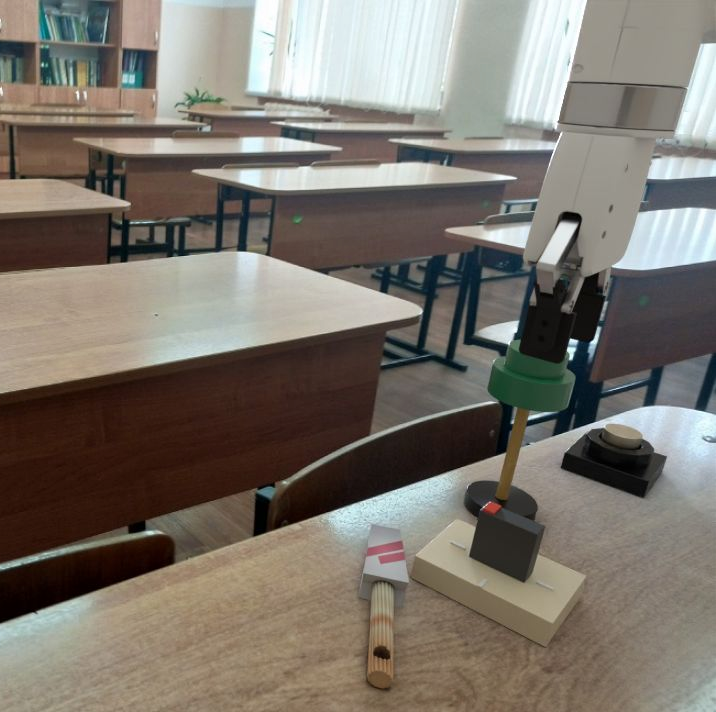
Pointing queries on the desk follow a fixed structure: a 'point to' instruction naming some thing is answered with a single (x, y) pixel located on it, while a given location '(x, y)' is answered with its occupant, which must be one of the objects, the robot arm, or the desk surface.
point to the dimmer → (499, 585)
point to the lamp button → (621, 436)
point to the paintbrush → (383, 598)
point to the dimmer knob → (506, 541)
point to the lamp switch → (614, 463)
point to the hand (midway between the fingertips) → (557, 345)
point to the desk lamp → (520, 421)
